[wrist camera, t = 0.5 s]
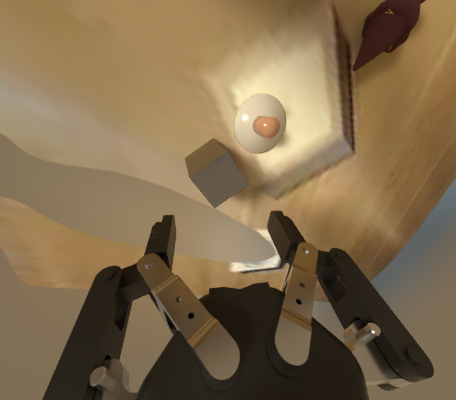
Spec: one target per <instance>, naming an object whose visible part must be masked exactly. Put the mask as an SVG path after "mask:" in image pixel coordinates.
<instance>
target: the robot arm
mask: <svg viewBox="0 0 456 400" xmlns="http://www.w3.org/2000/svg"><path fill="white" fill-rule="evenodd" d="M267 228H268V232H269V234H270V236H271V238H272V240H273V243H274V245H275V247H276V249H277V251H278V254H279V256H280V258H281V260H282V262H283V263H289V265H290V266H289V268H288V271H287V274H286V278H285V281H284V284H283V288H282V290H281V291H280V290H278V289H276V288H272V287H270V286H269V284H268V282H265V283H256V284H252V285H250V286H247V287H245V288H242V289H235V288H228V287H219V288H210V289H209V294H206V295H204V296H203V297H201V298H200V299H199V300H198V299H197V297H196V296H195V295H194V294H193V293H192V291H191V290H190V289H189V288H188V287H187V285H186V284H185V283H184V282H183V281H182V279H181V278H180V277H179V276H178V275H176V276H175V275H174V274H173V273H172V264H173V256H174V249H175V241H176V226H175V219H174V215H164V216H163V220H162V222H156V223H155V225H154V226H153V227H152V230H151V234H150V238H149V240H148V244H147V247H146V251H145V254H144V256H143V257H142V258H140V260H139V261H138V263H136V264H134V265H132V266H129V267H126V268H123V269H121V268H120V267H118V266H109V267H107V268H105V269H103V270H101V271H100V272H99V273H98V274H97V275H96V277H95V279H94V281H93V284H92V286H91V288H90V290H89V293H88V295H87V297H86V300H85V302H84V304H83V307H82V309H81V312H80V314H79V316H78V319H77V321H76V323H75V325H74V327H73V330H72V332H71V335H70V337H69V339H68V341H67V344H66V346H65V348H64V351H63V353H62V355H61V358H60V360H59V362H58V365H57V367H56V369H55V372H54V374H53V376H52V378H51V381H50V383H49V385H48V388H47V390H46V392H45V395H44V397H43V399H42V400H369V397H368V393H367V387H366V386H369V385H377V386H379V387H380V388H382V389H384V390H387V391H391V390H394V389H397V388H400V387H403V386H406V385H409V384H413V383H415V382H419V381H422V380H424V379H428V378H430V377H432V376H433V374H434V369H433V365H432V363H431V361H430V359H429V358H428V357H427V355H426V354H425V353H424V351H423V350H422V349H421V347H419V345H418V344H417V342H416V341H415V340H414V338H413V337H412V336H411V335H410V333H409V332H408V331H407V329H406V328H405V327H404V326H403V324H402V323H401V322H400V320H399V319H398V318H397V316H396V315H395V314H394V313H393V311H392V310H391V309H390V307H389V306H388V305H387V304H386V302H385V301H384V300H383V299H382V297H381V296H380V295H379V293H378V292H377V291H376V289H375V288H374V287H373V286H372V284H371V283H370V282H369V280H368V279H367V278H366V277H365V275H364V274H363V273H362V271H361V270H360V269H359V268H358V266H357V265H356V264H355V262H354V261H353V260H352V259H351V257H350V256H349V255H348V254H347V253H346V252H345V251H343V250H341V249H338V248H332V249H330V251H329V252H325V251H320V250H317V249H316V247H315V246H313V245H312V244H310V243H307V242H306V241H305V239H304V238H303V236H302V235H301V233H300V232H299V230H298V229H297V227H296V226H295V224H294V223H293V221H292V220H291V219H290V218H289V217H287V216H284V215H283V213H282V211H280V210H279V211H271V213H270V217H269V221H268V225H267ZM339 278H340V279H339ZM317 279H318V281H319V283H320V285H321V286H322V288H323V290H324V292H325V294H326V296H327V298H328V300H329V302H330V303H331V305H332V307H333V309H334V311H335V313H336V315H337V316H338V319H339V320H340V322H341V324H342V326H343V328H344V333H343V337H344V340H345V344H344V343H343V342H341V341H340V340H339V339H338V338H337V337H335V336H334V335H333V334H332V333H331V332H330V331H328V330H327V329H326V328H325V327H324V326H323V325H321V324H320V323H319V322H318V321H316V320H315V319H314V318H313V317H312V311H313V303H314V297H315V289H316V282H317ZM340 280H341V281H340ZM342 283H343V284H342ZM344 286H345V287H344ZM147 294H148V295H149V297H150V298H151V300H152V302H153V303H154V305H155V306H156V308H157V309H158V311H159V313H160V315H161V316H162V318H163V320H164V322H165V324H166V326H167V327H168V329H169V330H170V332H171V334H172V335H173V337H172V338H171V340H170V341H169V343H168V344H167V346H166V347H165V349H164V350H163V352H162V353H161V355H160V356H159V358H158V360H157V361H156V362H155V364H154V366H153V367H152V369H151V370H150V372H149V373H148V375H147V376H146V378H145V379H144V381H143V383H142V385H141V387H140V389H139V392H138V393H131V391H130V388H129V372H128V370H127V368H126V367H125V366H124V365H123V364H122V363H121V362H120V361H119V359H120V355H121V351H122V346H123V341H124V337H125V333H126V328H127V324H128V319H129V315H130V310H131V306H132V301H133V300H135V299H138V298H140V297H142V296H145V295H147Z"/></svg>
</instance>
